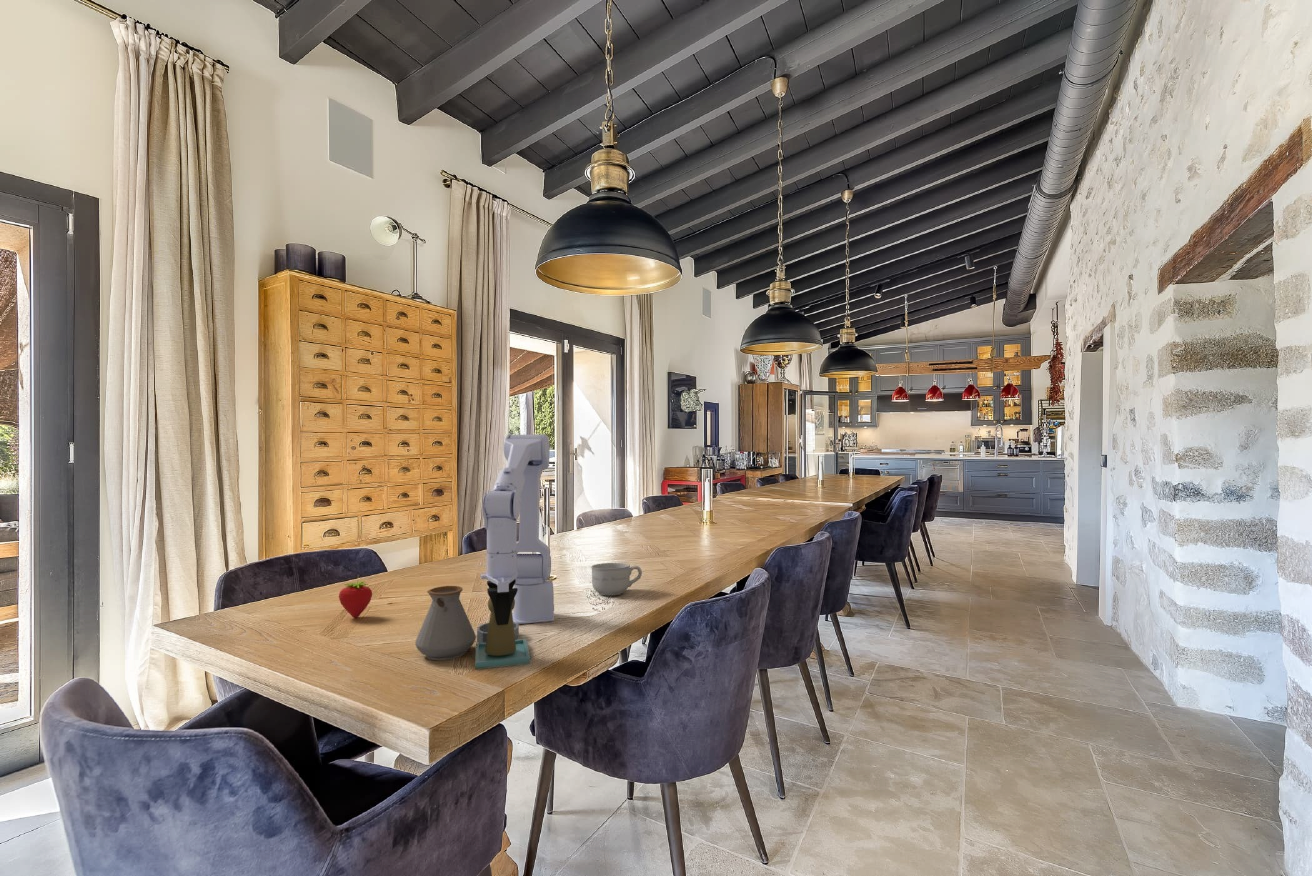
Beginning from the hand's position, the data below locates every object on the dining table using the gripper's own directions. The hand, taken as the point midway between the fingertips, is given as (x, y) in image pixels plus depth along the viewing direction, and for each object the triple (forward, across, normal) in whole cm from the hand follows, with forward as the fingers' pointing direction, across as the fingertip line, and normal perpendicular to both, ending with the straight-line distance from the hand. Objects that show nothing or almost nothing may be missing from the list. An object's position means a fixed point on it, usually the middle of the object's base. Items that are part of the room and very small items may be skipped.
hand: (501, 620), depth 119 cm
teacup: (+7, -40, +32) cm, 52 cm away
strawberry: (+7, -36, -33) cm, 50 cm away
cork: (+6, 0, 0) cm, 6 cm away
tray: (+7, 0, 0) cm, 7 cm away
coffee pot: (+7, 0, -11) cm, 13 cm away
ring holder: (+7, -11, 0) cm, 13 cm away
